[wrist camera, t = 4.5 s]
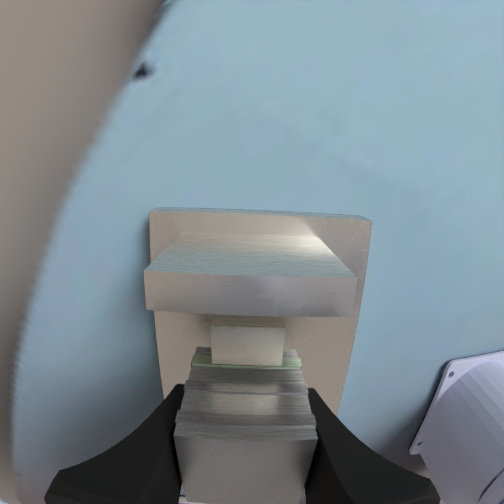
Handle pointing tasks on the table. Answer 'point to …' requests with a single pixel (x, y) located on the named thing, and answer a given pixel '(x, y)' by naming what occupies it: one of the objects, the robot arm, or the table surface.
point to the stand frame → (257, 290)
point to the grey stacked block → (244, 432)
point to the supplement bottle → (182, 500)
